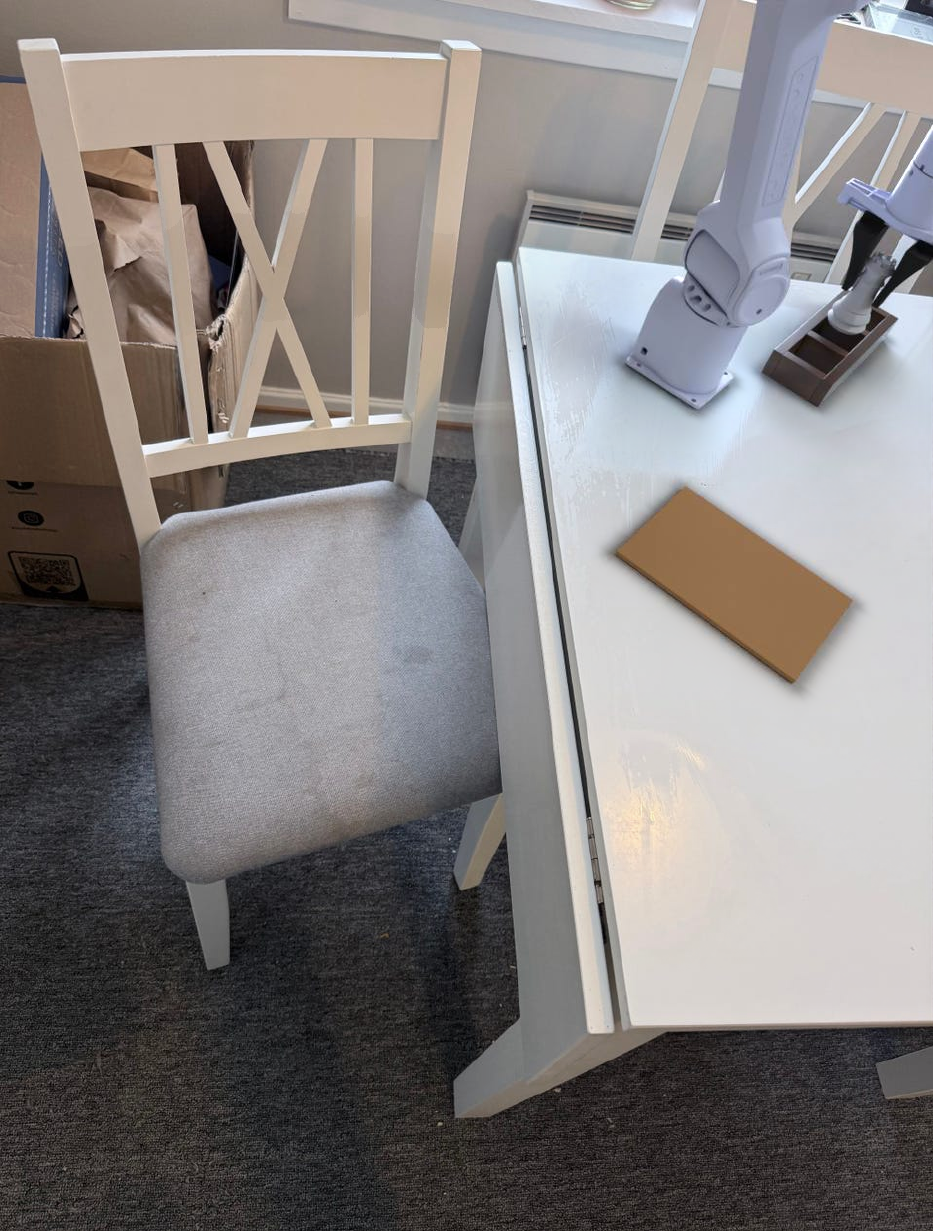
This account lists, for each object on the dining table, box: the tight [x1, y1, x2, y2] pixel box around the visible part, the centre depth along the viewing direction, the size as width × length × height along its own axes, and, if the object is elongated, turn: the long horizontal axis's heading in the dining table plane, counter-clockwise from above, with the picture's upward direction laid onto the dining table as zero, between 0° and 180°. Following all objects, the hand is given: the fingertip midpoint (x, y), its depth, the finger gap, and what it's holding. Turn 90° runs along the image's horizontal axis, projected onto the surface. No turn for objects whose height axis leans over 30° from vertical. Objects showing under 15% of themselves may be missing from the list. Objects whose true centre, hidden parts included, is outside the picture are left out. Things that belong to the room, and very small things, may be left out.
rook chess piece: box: [828, 251, 898, 335], centre depth 91 cm, size 4×4×8 cm
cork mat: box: [615, 485, 854, 684], centre depth 74 cm, size 18×12×1 cm, turn 50°
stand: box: [761, 289, 899, 407], centre depth 96 cm, size 7×20×3 cm, turn 140°
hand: (862, 295), depth 91 cm, fingers closed on rook chess piece, 3 cm apart
